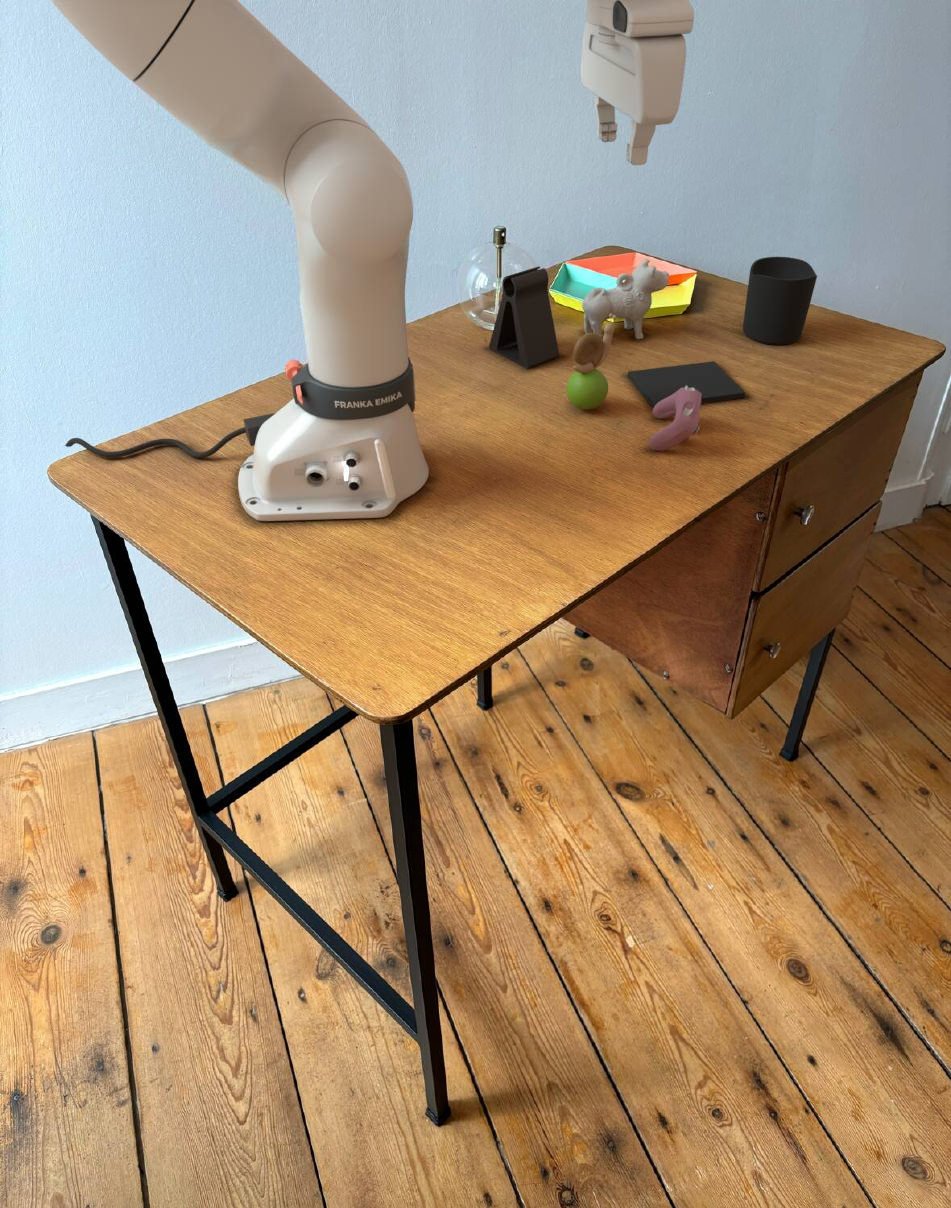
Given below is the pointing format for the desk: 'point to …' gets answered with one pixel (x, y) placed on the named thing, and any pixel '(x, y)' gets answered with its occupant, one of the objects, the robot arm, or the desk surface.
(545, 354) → the phone stand
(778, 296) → the pen holder
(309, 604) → the desk surface
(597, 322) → the dog figurine
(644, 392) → the mat
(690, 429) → the video game controller
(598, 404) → the snail figurine
